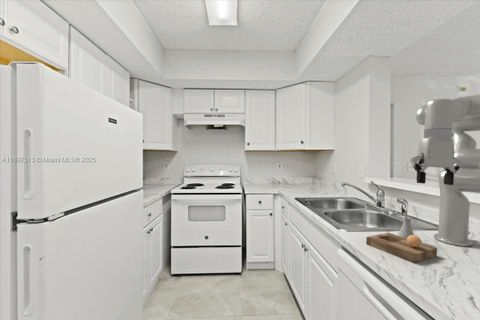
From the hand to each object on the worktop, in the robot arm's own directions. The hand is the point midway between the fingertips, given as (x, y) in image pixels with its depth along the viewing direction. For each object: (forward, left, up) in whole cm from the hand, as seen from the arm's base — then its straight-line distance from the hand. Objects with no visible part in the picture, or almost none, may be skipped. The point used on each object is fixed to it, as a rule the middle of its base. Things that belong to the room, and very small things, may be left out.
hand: (434, 183), depth 83 cm
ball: (+2, -5, -22) cm, 22 cm away
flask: (-11, -15, -27) cm, 33 cm away
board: (+2, -10, -27) cm, 29 cm away
